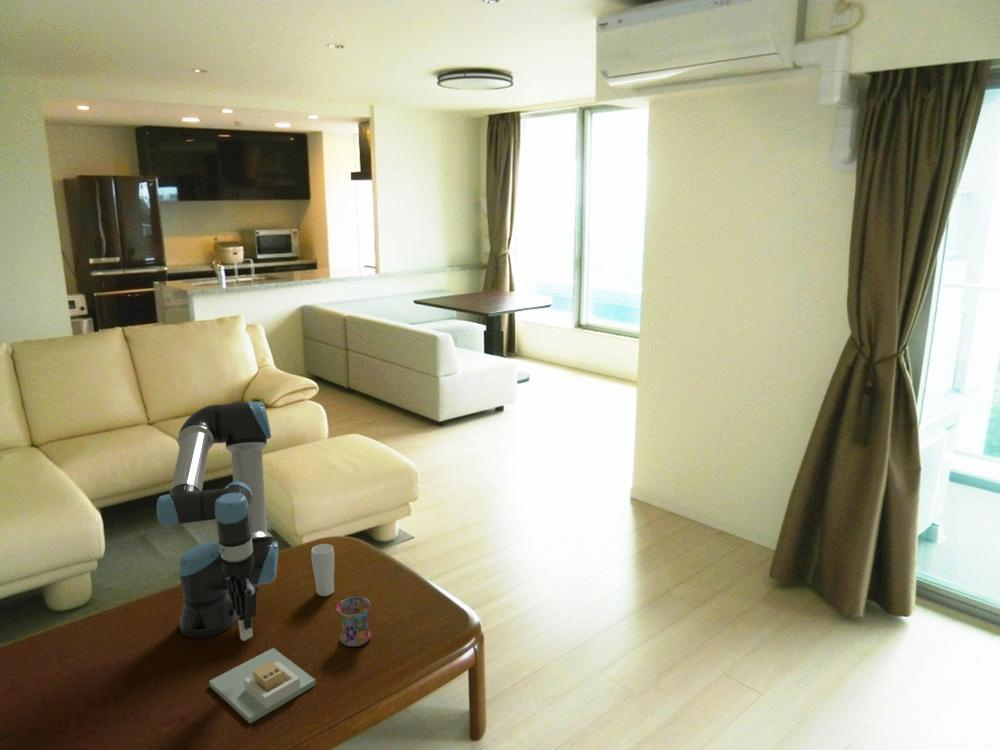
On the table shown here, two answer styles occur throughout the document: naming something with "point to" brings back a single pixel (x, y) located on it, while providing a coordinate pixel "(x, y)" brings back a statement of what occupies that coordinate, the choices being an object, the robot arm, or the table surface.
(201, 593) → the robot arm
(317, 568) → the drinking glass
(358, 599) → the mug
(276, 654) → the board
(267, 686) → the plug
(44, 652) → the table surface
